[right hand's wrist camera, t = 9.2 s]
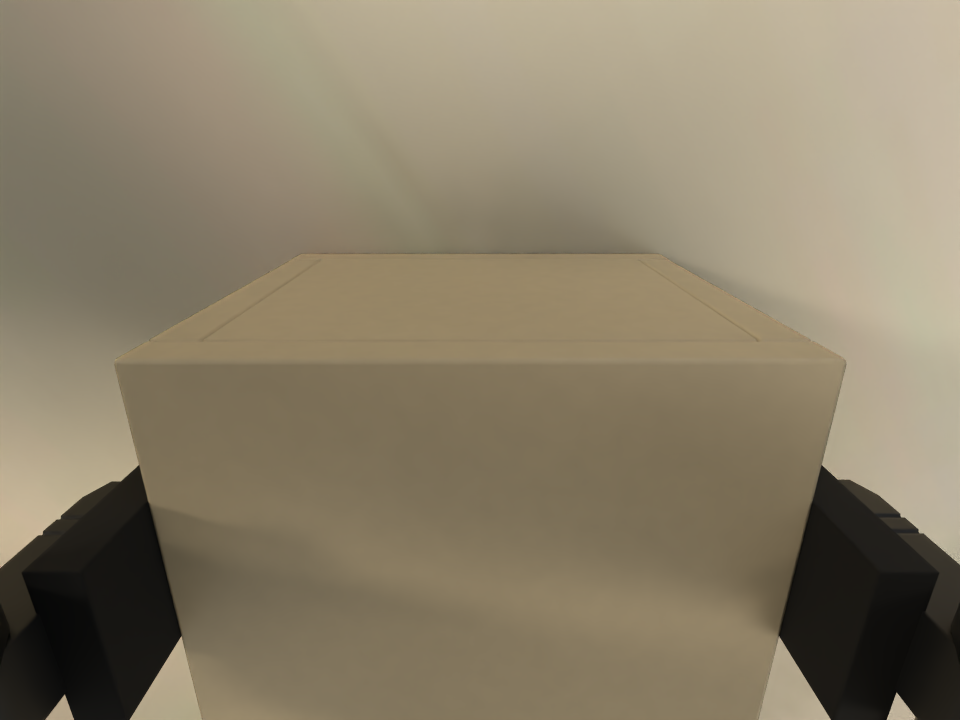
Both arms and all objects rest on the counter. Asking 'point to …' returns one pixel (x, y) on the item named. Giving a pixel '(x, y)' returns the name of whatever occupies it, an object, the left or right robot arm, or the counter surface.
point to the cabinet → (480, 488)
